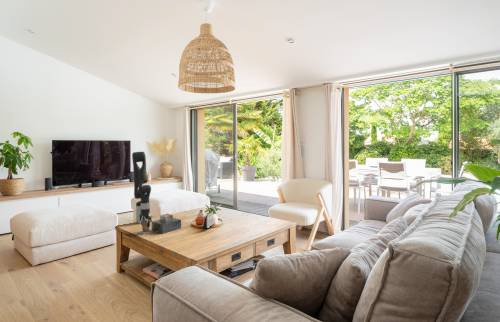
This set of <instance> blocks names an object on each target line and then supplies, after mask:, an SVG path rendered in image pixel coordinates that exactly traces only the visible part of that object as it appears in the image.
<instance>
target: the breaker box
mask: <svg viewBox="0 0 500 322" xmlns="http://www.w3.org/2000/svg"><path fill="white" fill-rule="evenodd" d="M165 215H169V216H165ZM181 229H182V219H180V218H174V216H173V214H170V213H165V214H161V215H159V219H157V220H152V222H151V231H153V232H156V233H160V234H167V233H170V232H173V231H177V230H181Z"/></svg>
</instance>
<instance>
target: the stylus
mask: <svg viewBox="0 0 500 322" xmlns="http://www.w3.org/2000/svg"><path fill="white" fill-rule="evenodd" d="M141 226H142V229H141V231H142V232H148V231H149V230H150V227H147V221H146V220H142V225H141Z"/></svg>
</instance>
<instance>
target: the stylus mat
mask: <svg viewBox="0 0 500 322" xmlns="http://www.w3.org/2000/svg"><path fill="white" fill-rule="evenodd" d="M153 232H154V231H152V229H149V231H148V232H142V230H140V231H138V232H137V233H139V234H142V235H147V234H150V233H153Z"/></svg>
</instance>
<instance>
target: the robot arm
mask: <svg viewBox="0 0 500 322" xmlns="http://www.w3.org/2000/svg"><path fill="white" fill-rule="evenodd" d="M131 156H132V157H131V158H132V167H133V169H132V170H133V185H134V186H133V197H134V199H136V200H137V199H140V201H137V202H135V223H136V224H139V225H141V226H142V220H146V221H147V227H149V228H150V227H151V223H152V221H153V219H152V215H150V213H151V207H150V206H151V205H150V196H151V192H152V187H151V185H150V184H147V183H148V182H149V181H148V175H147V161H146V160H147V159H146V158H147V157H146V153H145V151H134V152H132V153H131ZM138 163H141V164H142V165H141V167H140V166H139V165H138ZM144 184H145V185H144Z"/></svg>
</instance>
